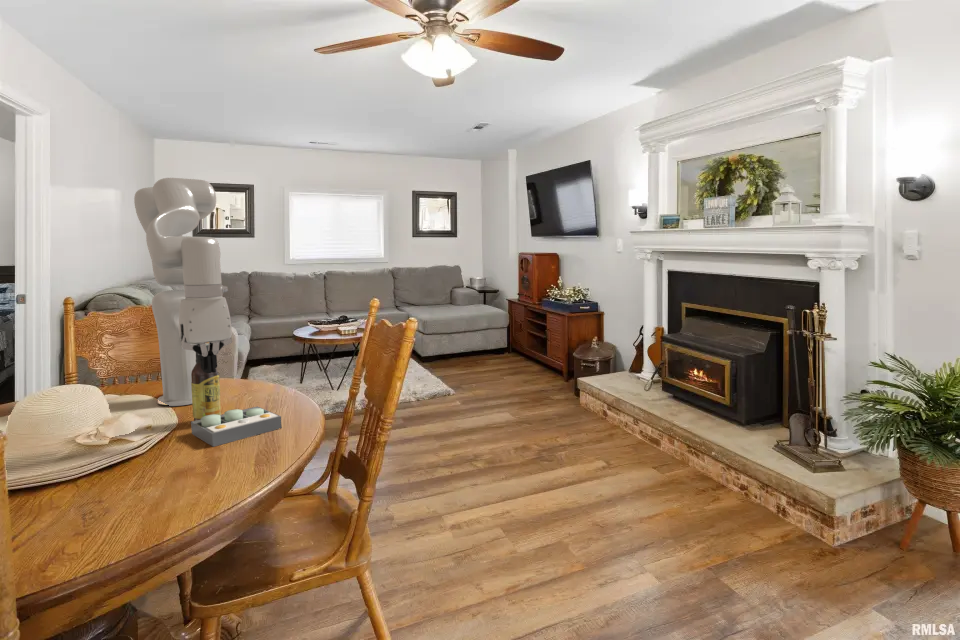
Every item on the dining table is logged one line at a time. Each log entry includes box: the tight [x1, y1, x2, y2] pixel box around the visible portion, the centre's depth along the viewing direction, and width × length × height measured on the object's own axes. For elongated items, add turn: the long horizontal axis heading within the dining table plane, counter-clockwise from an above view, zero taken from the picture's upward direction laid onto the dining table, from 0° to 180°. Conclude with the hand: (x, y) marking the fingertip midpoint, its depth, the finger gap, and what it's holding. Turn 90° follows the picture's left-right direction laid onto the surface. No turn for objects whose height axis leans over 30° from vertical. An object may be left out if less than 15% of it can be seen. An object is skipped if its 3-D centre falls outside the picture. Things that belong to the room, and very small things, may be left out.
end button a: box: [201, 414, 221, 428], centre depth 122 cm, size 4×4×3 cm
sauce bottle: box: [191, 343, 222, 421], centre depth 131 cm, size 7×6×20 cm
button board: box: [190, 405, 282, 447], centre depth 125 cm, size 12×16×3 cm
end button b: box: [246, 407, 265, 417], centre depth 130 cm, size 4×4×3 cm
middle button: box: [223, 408, 243, 422], centre depth 126 cm, size 4×4×3 cm
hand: (209, 371), depth 121 cm, fingers closed
